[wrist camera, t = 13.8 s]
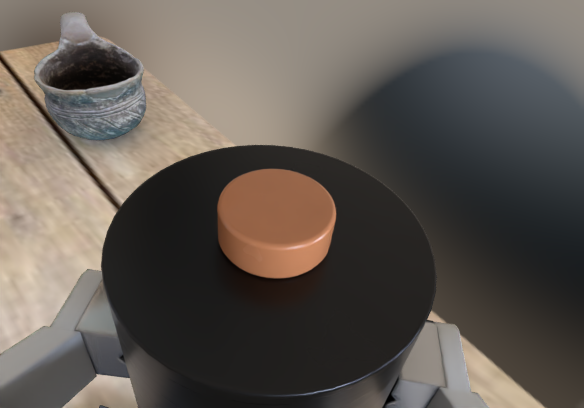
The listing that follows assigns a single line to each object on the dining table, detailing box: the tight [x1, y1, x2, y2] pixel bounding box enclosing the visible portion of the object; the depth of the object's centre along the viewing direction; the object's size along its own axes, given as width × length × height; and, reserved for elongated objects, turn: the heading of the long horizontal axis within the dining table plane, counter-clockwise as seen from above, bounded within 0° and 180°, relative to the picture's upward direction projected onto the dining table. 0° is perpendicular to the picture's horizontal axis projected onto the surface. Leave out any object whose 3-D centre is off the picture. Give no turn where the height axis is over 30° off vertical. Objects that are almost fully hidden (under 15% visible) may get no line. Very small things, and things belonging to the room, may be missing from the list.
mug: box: [34, 12, 146, 140], centre depth 45 cm, size 10×12×10 cm
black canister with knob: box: [101, 145, 436, 408], centre depth 11 cm, size 6×6×10 cm
